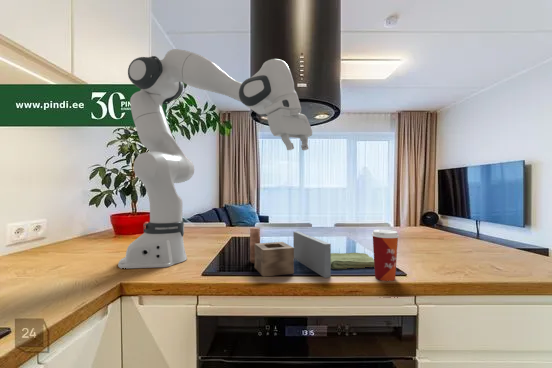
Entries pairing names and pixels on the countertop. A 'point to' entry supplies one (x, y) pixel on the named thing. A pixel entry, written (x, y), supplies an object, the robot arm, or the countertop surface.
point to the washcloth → (351, 260)
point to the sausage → (254, 242)
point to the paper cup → (385, 254)
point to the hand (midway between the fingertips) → (298, 149)
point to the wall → (312, 253)
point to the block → (274, 258)
